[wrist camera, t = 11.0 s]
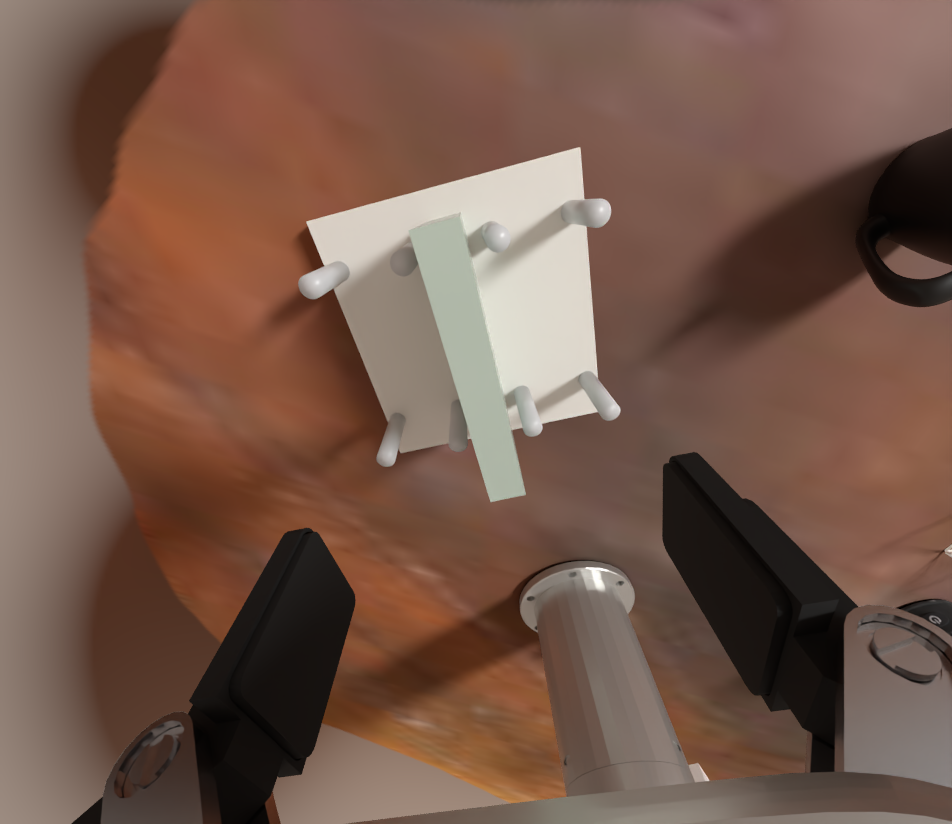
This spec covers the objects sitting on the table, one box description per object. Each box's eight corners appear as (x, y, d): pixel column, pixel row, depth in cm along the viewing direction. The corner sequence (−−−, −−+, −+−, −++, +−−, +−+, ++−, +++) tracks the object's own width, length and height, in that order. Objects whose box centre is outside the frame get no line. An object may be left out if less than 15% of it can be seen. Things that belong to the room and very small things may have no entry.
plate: (428, 221, 22) (408, 230, 14) (461, 211, 22) (459, 216, 14) (483, 420, 29) (490, 501, 21) (508, 414, 28) (525, 494, 20)
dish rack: (594, 402, 30) (625, 448, 24) (403, 442, 31) (389, 496, 25) (573, 150, 22) (612, 131, 16) (315, 220, 23) (266, 225, 17)
